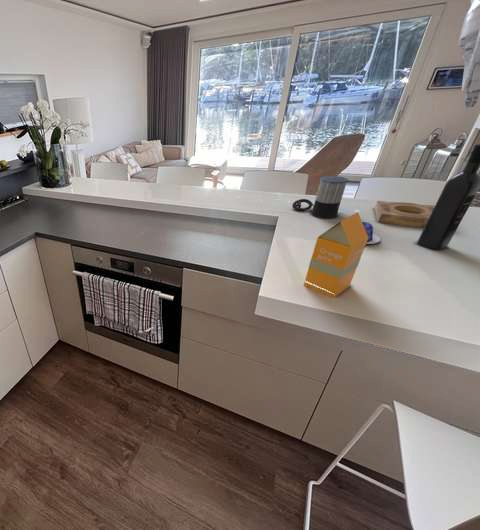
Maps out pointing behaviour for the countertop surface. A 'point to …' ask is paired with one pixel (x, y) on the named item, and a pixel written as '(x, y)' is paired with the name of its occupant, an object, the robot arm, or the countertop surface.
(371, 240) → the pudding
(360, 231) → the orange juice
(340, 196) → the milk frother
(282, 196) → the countertop surface
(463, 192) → the wine bottle
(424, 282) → the countertop surface
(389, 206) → the bottle stand
